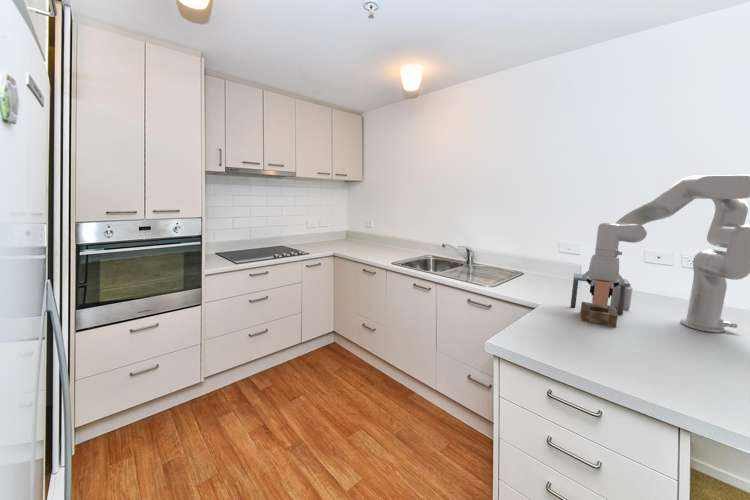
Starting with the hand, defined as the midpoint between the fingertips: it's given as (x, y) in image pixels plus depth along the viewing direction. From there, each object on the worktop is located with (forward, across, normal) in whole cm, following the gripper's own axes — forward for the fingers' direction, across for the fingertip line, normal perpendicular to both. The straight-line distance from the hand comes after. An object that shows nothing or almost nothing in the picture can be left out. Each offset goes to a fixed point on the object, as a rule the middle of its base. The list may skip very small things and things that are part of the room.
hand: (600, 295), depth 136 cm
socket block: (+11, 0, -2) cm, 11 cm away
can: (+11, -10, -25) cm, 29 cm away
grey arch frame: (+11, 0, -10) cm, 15 cm away
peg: (+3, 0, 0) cm, 3 cm away
